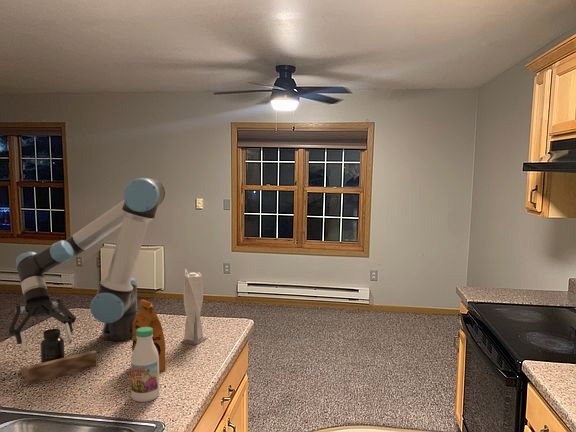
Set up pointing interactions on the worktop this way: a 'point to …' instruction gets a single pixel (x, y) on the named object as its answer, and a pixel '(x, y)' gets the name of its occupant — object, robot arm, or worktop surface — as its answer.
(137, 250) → the robot arm
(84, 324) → the worktop surface
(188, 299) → the skyscraper
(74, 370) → the walnut shelf
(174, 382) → the worktop surface
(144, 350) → the milk bottle
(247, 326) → the worktop surface
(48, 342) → the supplement bottle
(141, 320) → the orange brown carved sculpture
